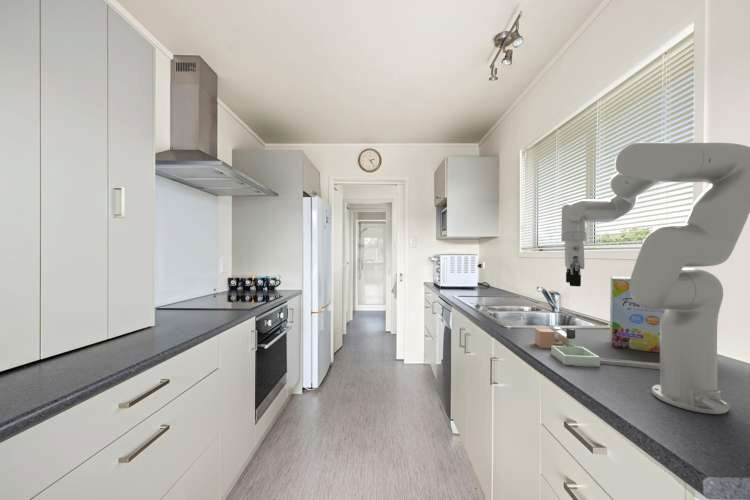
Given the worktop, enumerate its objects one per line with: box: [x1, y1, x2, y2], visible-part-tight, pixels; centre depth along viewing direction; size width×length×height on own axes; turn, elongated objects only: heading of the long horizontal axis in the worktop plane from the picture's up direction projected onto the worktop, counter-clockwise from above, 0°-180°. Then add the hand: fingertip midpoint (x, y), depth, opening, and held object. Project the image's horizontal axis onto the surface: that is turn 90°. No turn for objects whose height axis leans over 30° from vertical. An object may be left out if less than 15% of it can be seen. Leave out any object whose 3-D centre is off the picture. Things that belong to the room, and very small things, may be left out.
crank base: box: [555, 341, 565, 346], centre depth 117 cm, size 6×6×1 cm
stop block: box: [534, 327, 556, 349], centre depth 114 cm, size 5×5×6 cm
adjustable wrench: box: [600, 357, 660, 370], centre depth 94 cm, size 25×6×2 cm, turn 65°
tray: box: [550, 345, 601, 368], centre depth 98 cm, size 10×10×3 cm
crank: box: [548, 325, 577, 347], centre depth 111 cm, size 16×4×7 cm, turn 171°
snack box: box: [609, 275, 665, 354], centre depth 109 cm, size 22×9×26 cm, turn 57°
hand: (573, 284), depth 110 cm, fingers open, 9 cm apart
